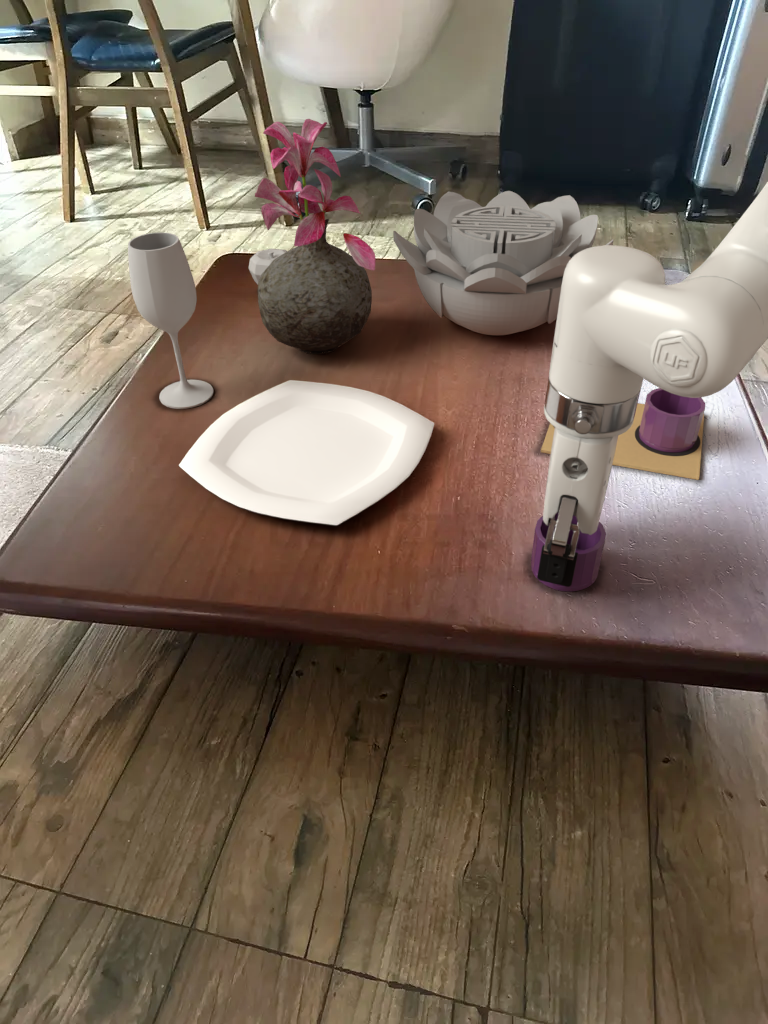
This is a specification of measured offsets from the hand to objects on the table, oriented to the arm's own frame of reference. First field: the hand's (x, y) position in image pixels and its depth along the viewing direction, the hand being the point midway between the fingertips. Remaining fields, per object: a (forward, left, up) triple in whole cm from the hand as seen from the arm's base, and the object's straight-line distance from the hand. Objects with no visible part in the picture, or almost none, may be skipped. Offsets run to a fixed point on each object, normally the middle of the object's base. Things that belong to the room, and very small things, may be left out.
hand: (563, 547), depth 77 cm
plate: (+32, -10, -3) cm, 33 cm away
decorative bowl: (+19, -51, -3) cm, 54 cm away
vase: (+42, -37, -3) cm, 56 cm away
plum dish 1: (0, 0, -3) cm, 3 cm away
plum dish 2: (-8, -26, -2) cm, 27 cm away
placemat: (-3, -26, -3) cm, 26 cm away
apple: (+57, -52, -3) cm, 77 cm away
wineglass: (+54, -18, -3) cm, 57 cm away
